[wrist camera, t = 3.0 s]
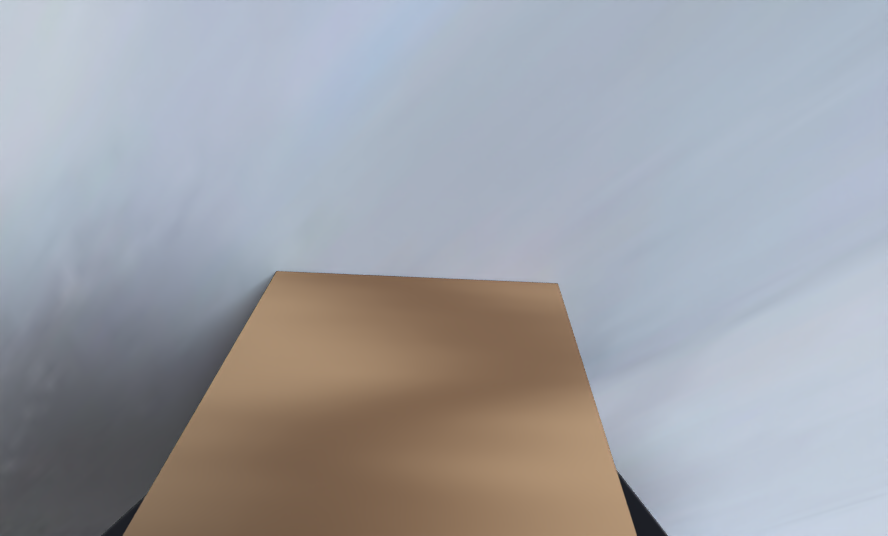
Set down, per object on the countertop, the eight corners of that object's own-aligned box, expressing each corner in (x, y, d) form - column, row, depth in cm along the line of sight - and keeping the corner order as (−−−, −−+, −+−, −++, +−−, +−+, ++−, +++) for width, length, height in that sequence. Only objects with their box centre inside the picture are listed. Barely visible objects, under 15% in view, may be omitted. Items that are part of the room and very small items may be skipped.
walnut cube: (558, 283, 8) (657, 600, 4) (522, 459, 11) (561, 759, 7) (276, 271, 8) (99, 576, 4) (309, 449, 11) (219, 744, 7)
